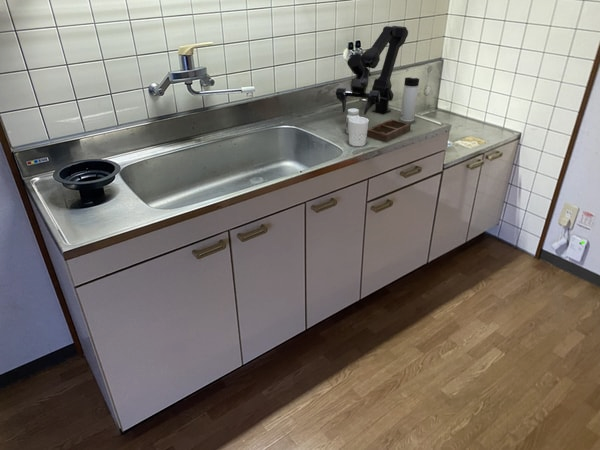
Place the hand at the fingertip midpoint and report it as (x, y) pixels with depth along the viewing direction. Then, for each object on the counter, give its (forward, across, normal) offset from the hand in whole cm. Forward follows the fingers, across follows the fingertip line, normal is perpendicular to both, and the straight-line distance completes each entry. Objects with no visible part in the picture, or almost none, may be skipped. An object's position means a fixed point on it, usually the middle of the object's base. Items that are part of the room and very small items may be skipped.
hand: (354, 113), depth 198 cm
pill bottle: (+7, 0, +5) cm, 8 cm away
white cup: (+15, +5, -4) cm, 16 cm away
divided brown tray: (+4, +15, +7) cm, 17 cm away
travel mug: (-8, +21, +20) cm, 30 cm away
